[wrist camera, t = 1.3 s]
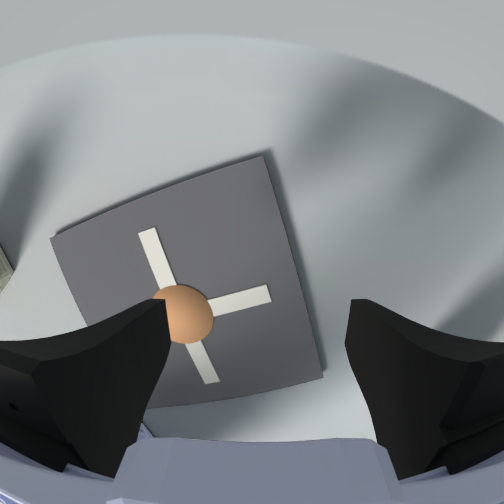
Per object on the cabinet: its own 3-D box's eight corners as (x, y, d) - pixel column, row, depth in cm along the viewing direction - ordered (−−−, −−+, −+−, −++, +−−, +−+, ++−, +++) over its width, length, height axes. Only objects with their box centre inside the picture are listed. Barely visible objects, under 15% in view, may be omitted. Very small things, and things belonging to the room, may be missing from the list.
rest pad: (322, 372, 21) (323, 378, 20) (140, 404, 22) (137, 409, 22) (262, 156, 17) (262, 155, 16) (54, 236, 18) (48, 238, 18)
